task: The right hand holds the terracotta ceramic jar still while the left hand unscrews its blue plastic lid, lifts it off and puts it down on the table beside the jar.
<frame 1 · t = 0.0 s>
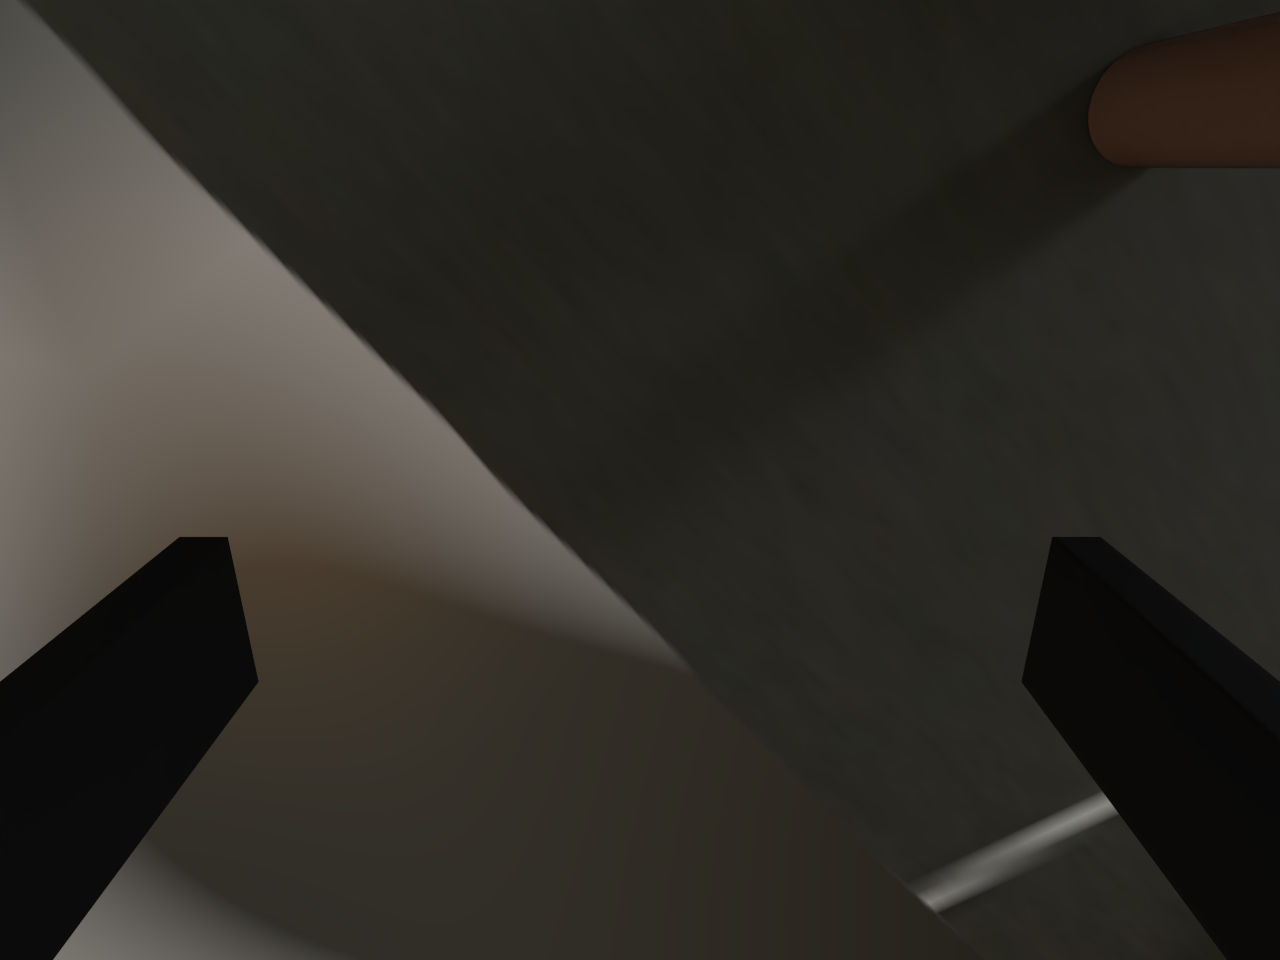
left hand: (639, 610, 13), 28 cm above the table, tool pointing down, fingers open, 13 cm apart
jar: (1145, 106, 36), on the table
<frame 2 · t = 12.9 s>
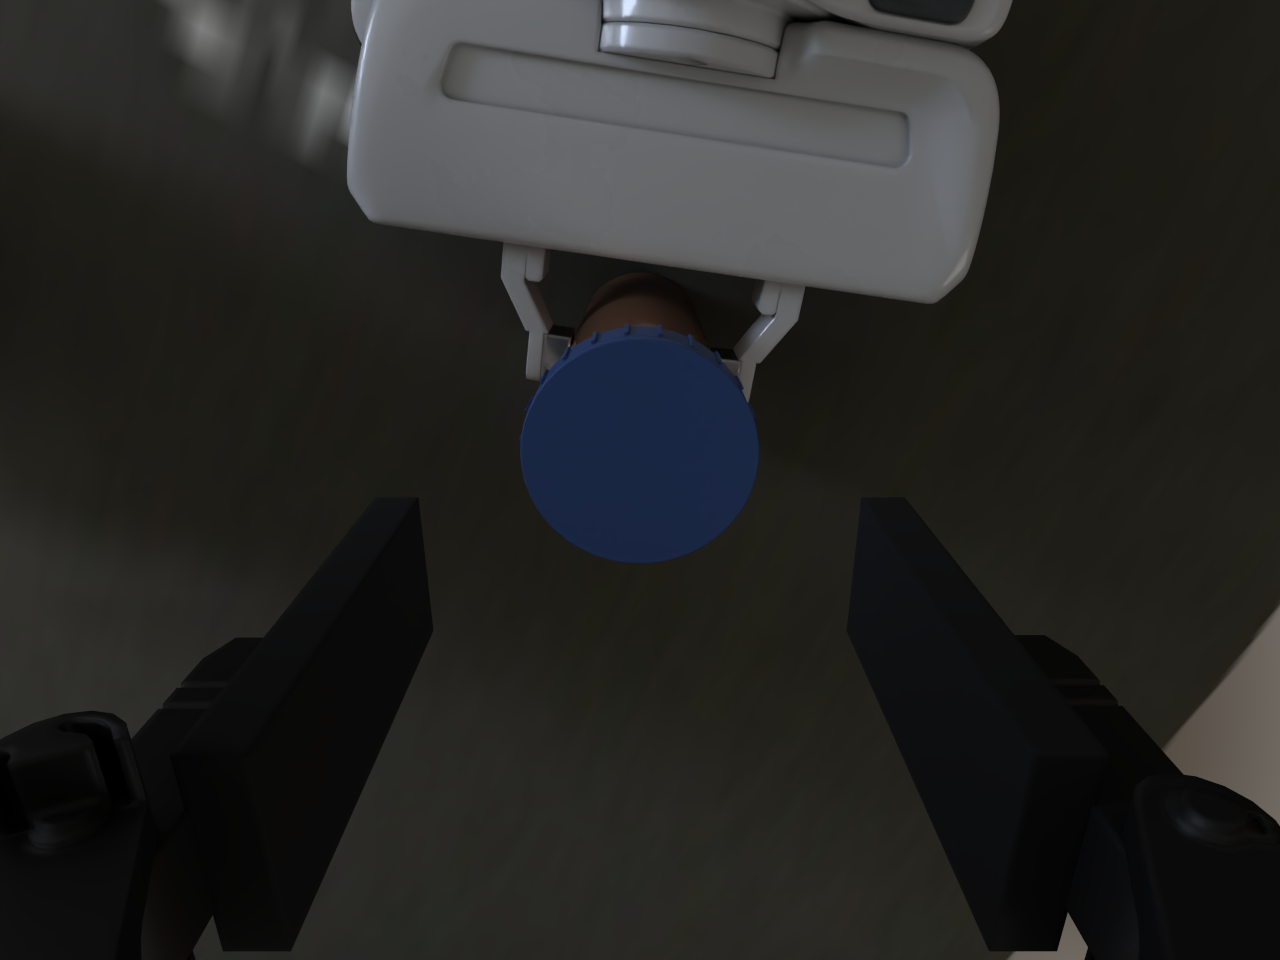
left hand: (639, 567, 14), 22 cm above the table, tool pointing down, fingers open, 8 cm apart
right hand: (637, 390, 29), fingers closed on jar, 5 cm apart
lid: (639, 452, 20), point 15 cm above the table, screwed on, not yet turned
jar: (640, 332, 34), on the table, touching right hand
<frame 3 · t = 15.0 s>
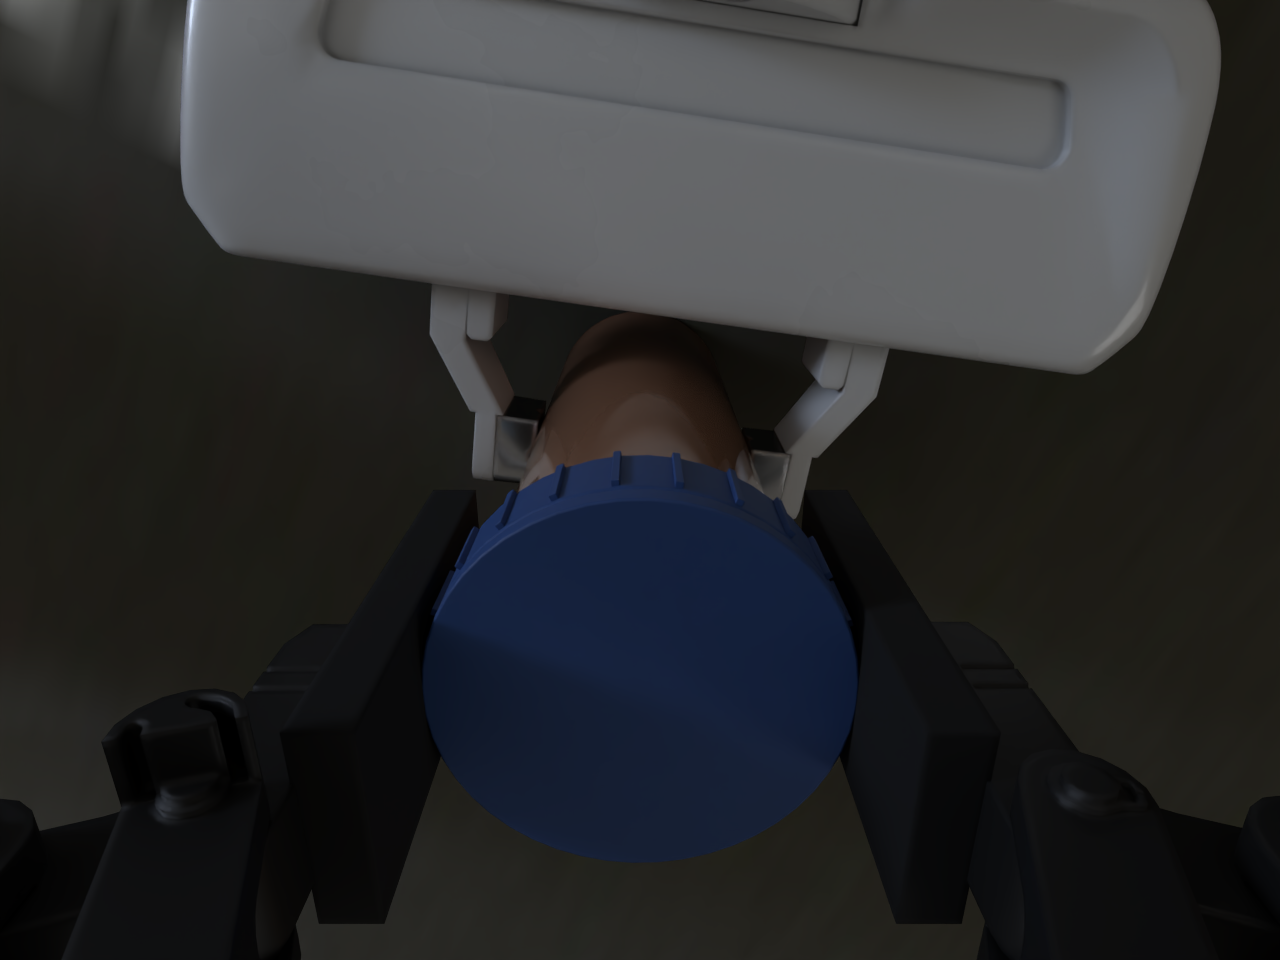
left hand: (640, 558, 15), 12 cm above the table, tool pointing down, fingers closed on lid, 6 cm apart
right hand: (636, 491, 20), fingers closed on jar, 5 cm apart
lid: (640, 684, 11), point 15 cm above the table, screwed on, not yet turned, touching left hand
jar: (640, 390, 25), on the table, touching right hand
when the left hand's fingers open (12 cm above the table, at t = 16.3 s): lid stays where it is, point 16 cm above the table.
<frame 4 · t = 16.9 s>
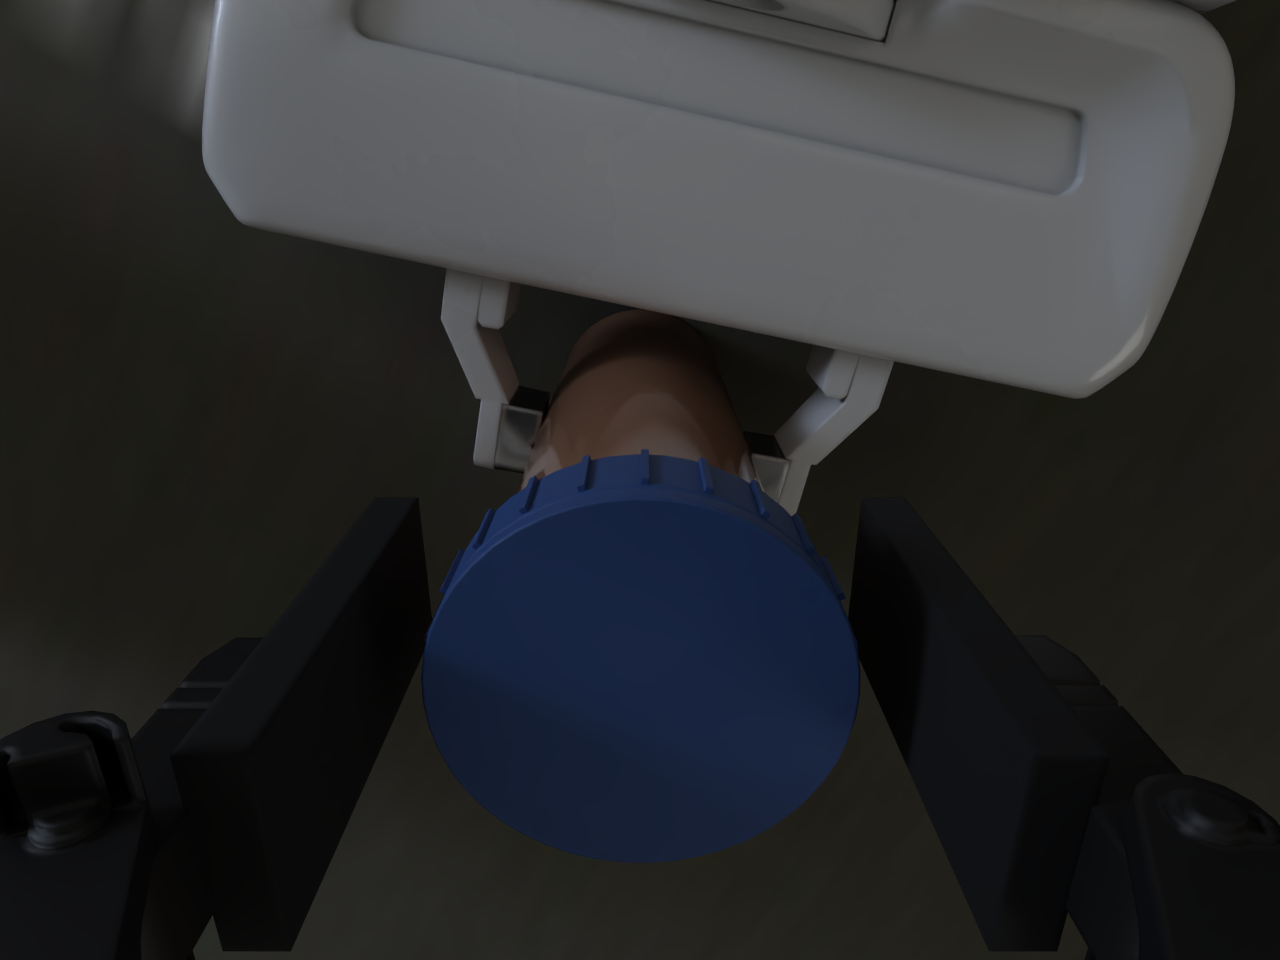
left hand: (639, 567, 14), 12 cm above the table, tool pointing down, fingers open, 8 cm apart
right hand: (635, 488, 20), fingers closed on jar, 5 cm apart
lid: (640, 683, 11), point 16 cm above the table, turned 75° so far, risen 0.2 cm, still on its thread
jar: (640, 388, 26), on the table, touching right hand
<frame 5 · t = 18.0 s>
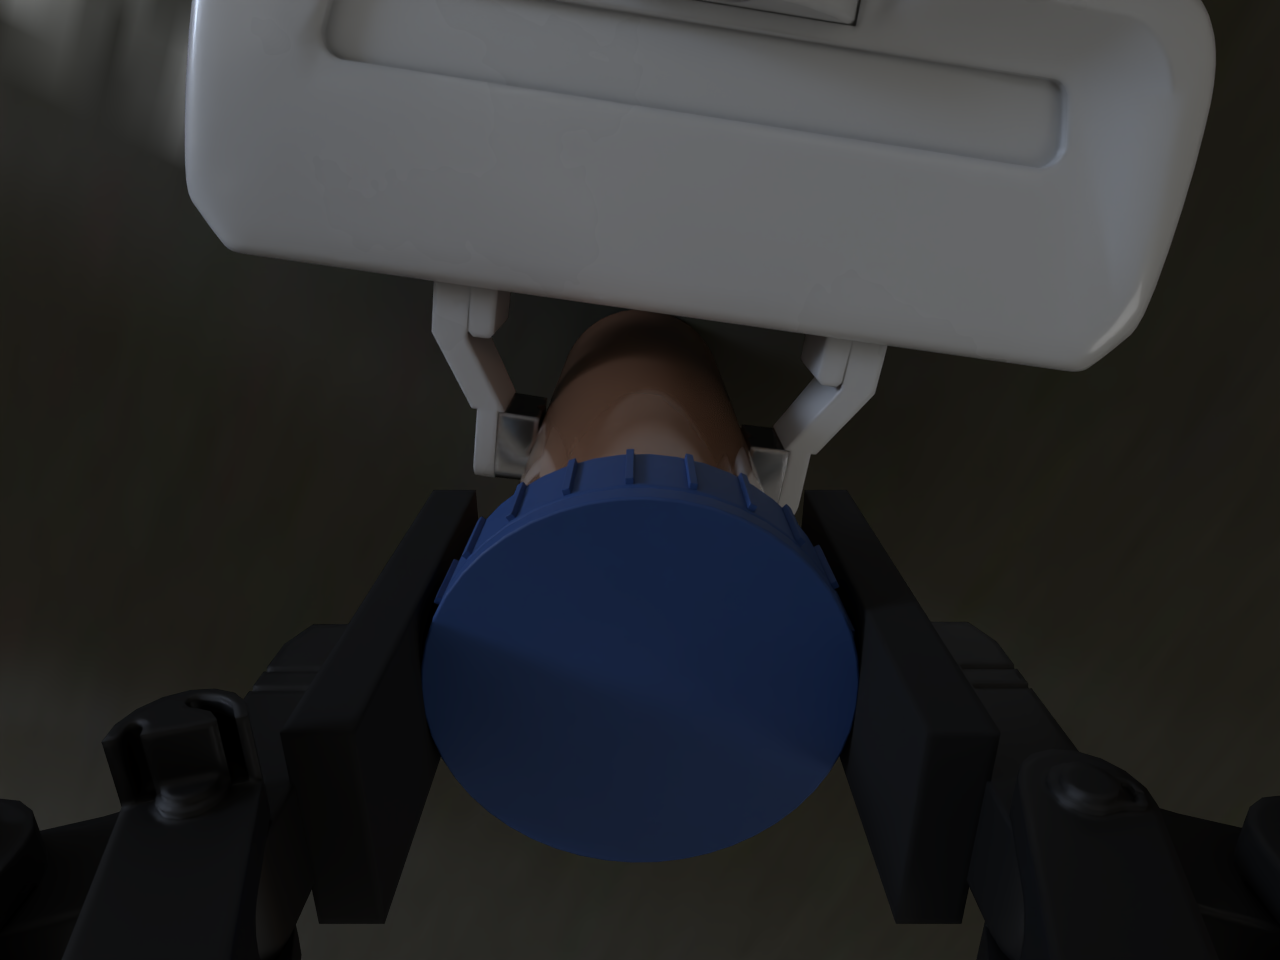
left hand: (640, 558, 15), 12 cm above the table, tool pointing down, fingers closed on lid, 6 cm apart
right hand: (637, 488, 20), fingers closed on jar, 5 cm apart
lid: (640, 683, 11), point 16 cm above the table, turned 75° so far, risen 0.2 cm, still on its thread, touching left hand
jar: (640, 388, 26), on the table, touching right hand
when the left hand's fingers open (0 cm above the table, at t = 25.1 s): lid drops 2 cm, point 1 cm above the table.
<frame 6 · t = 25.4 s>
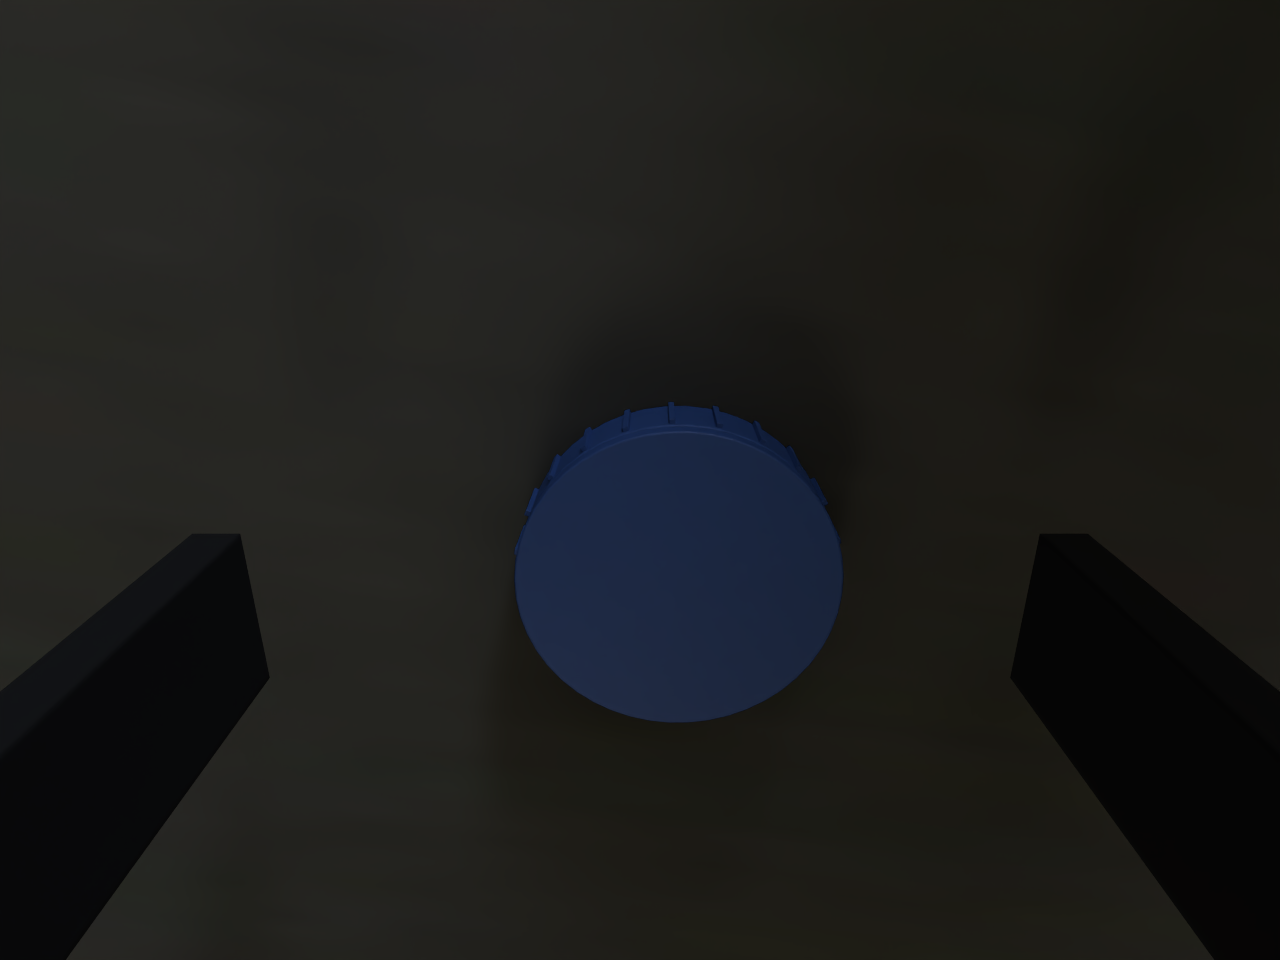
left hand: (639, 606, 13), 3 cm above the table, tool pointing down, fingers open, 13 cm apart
lid: (677, 579, 15), point 1 cm above the table, off its thread
when the right hand's fingers open (6 cm above the table, at t = 25.9 s): jar stays where it is, on the table.
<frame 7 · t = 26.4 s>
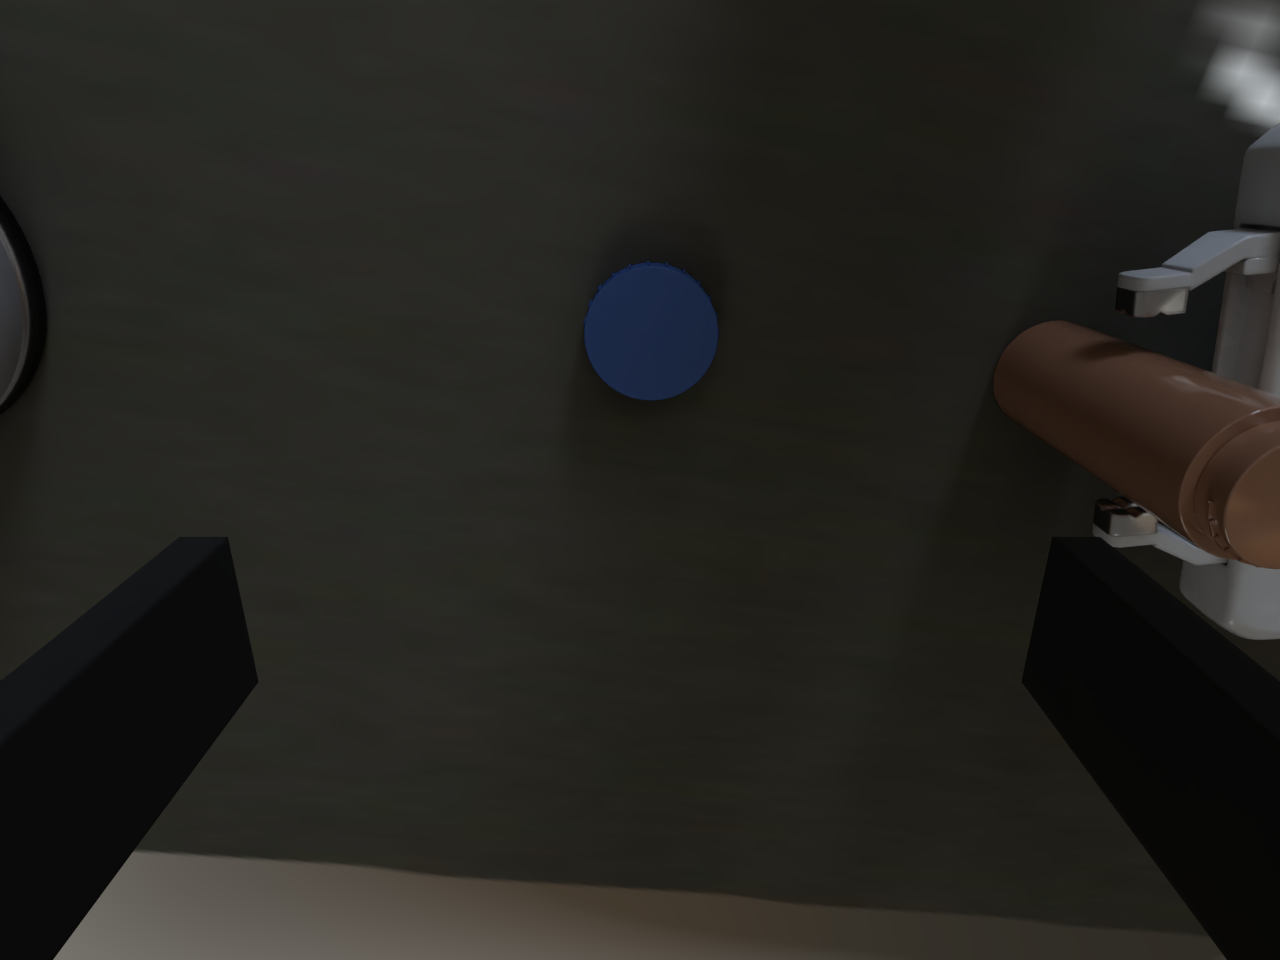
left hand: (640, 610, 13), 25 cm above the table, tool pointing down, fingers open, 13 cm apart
lid: (651, 334, 35), point 1 cm above the table, off its thread
jar: (1047, 374, 37), on the table
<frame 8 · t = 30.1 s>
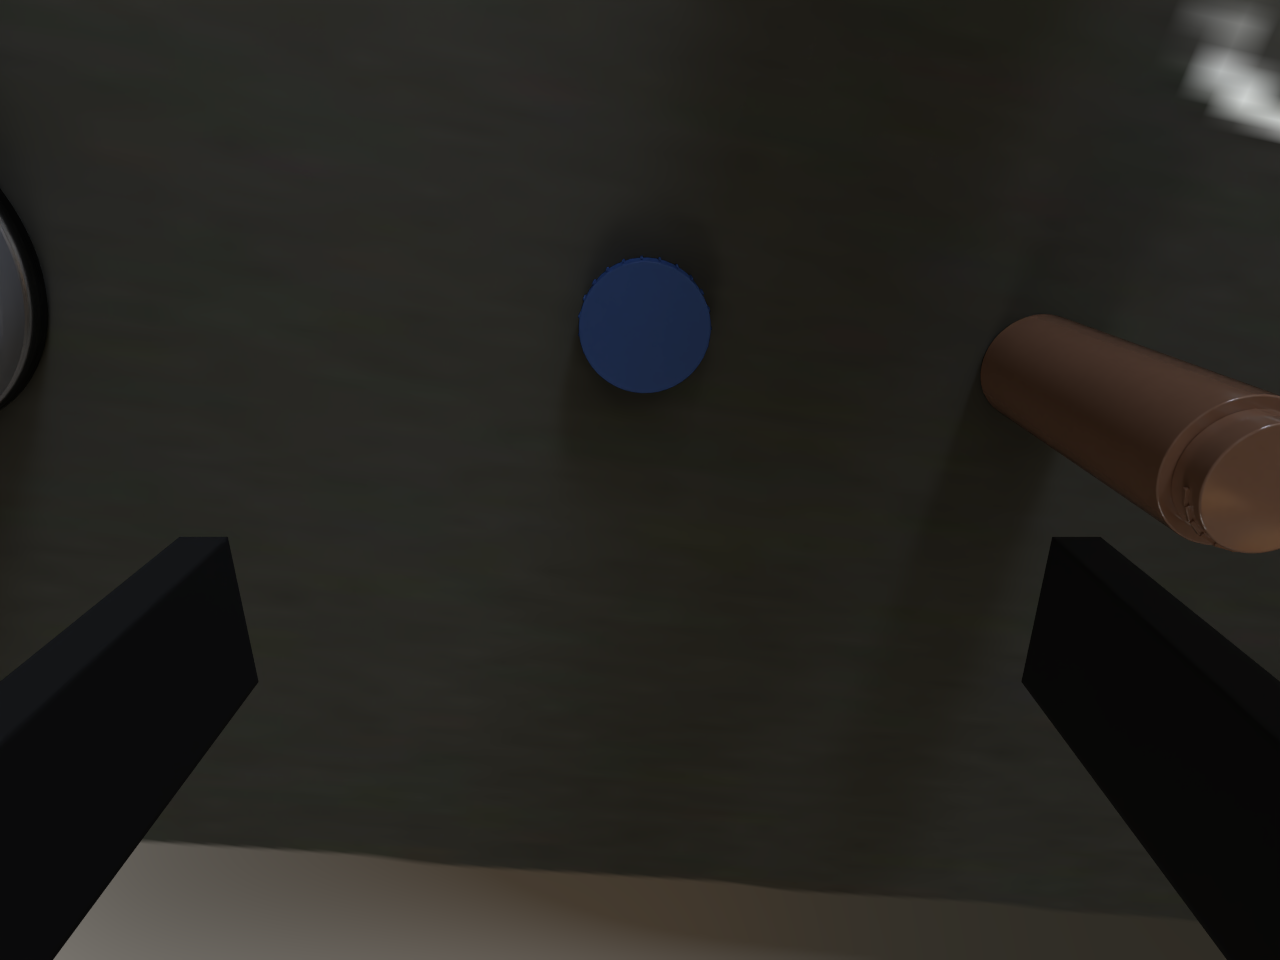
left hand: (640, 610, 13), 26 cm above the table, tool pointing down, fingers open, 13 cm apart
lid: (644, 327, 36), point 1 cm above the table, off its thread
jar: (1033, 367, 38), on the table
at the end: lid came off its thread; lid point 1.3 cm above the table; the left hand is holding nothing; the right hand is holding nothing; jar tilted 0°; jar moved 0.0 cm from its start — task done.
